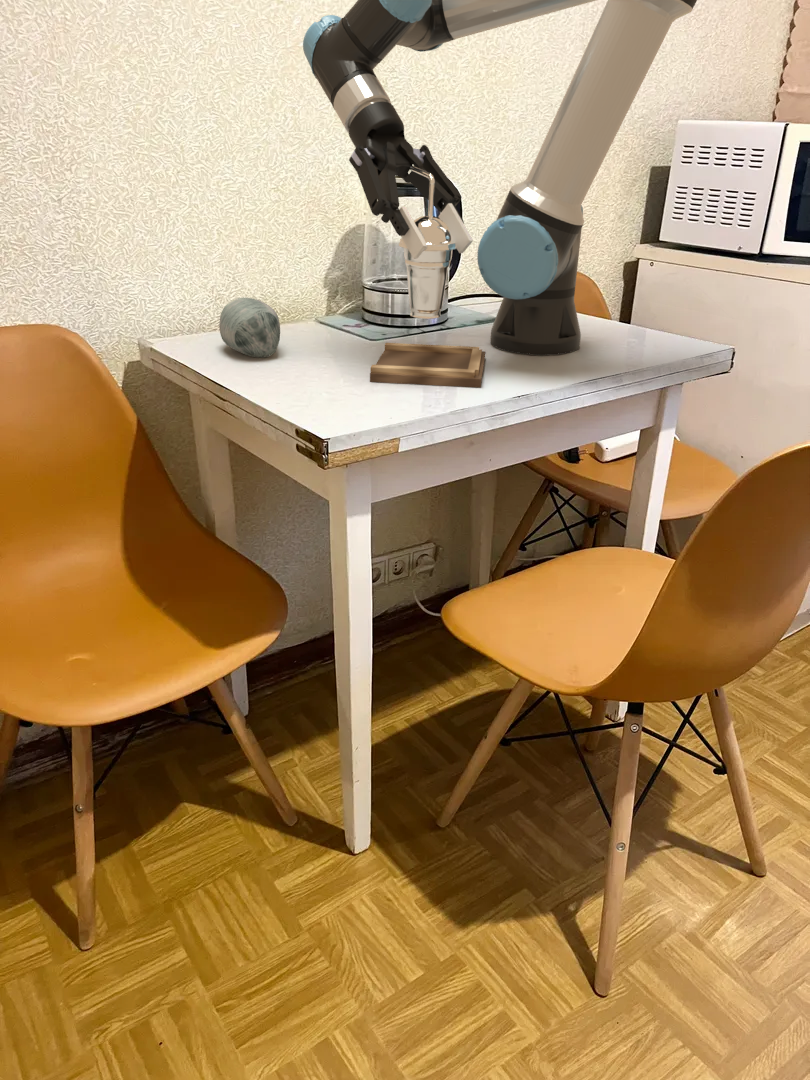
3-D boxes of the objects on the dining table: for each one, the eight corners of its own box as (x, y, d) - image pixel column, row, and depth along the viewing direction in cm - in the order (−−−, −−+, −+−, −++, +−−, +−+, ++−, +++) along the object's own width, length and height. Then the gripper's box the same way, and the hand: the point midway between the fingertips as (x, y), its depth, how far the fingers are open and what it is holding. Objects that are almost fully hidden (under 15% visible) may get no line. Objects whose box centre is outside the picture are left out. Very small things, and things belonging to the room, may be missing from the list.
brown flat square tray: (485, 359, 131) (485, 346, 130) (480, 387, 117) (481, 373, 116) (386, 354, 133) (386, 341, 132) (370, 381, 119) (369, 368, 118)
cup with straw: (399, 321, 117) (403, 168, 108) (394, 308, 125) (397, 165, 116) (458, 322, 118) (467, 170, 109) (449, 309, 126) (456, 166, 117)
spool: (299, 338, 128) (263, 280, 124) (247, 371, 126) (210, 313, 123) (285, 340, 140) (252, 287, 137) (238, 369, 139) (204, 317, 136)
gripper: (410, 139, 127) (480, 260, 124) (300, 139, 114) (374, 274, 111) (435, 100, 121) (509, 226, 118) (322, 95, 108) (401, 237, 105)
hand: (443, 249), depth 115 cm, fingers closed on cup with straw, 8 cm apart
